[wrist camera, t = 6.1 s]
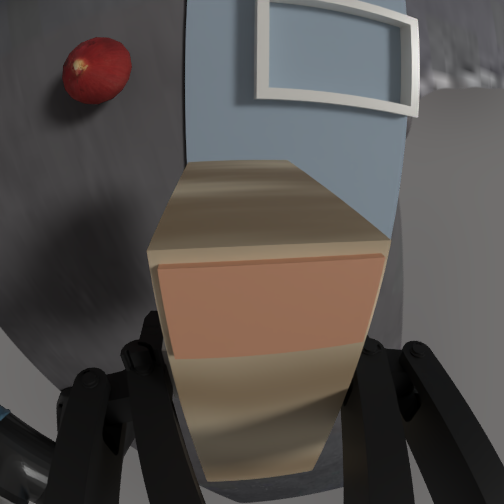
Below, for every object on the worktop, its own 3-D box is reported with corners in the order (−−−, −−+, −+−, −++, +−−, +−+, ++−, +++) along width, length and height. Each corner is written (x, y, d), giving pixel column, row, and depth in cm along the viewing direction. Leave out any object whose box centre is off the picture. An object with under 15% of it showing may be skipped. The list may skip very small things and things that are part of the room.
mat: (380, 278, 35) (381, 279, 34) (196, 289, 32) (196, 291, 32) (403, -3, 19) (404, -4, 19) (189, -33, 17) (189, -35, 17)
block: (276, 339, 20) (313, 473, 11) (203, 344, 20) (207, 485, 11) (287, 159, 15) (395, 243, 6) (188, 161, 14) (144, 255, 5)
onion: (73, 90, 21) (29, 89, 14) (103, 38, 19) (67, 18, 12) (120, 113, 23) (85, 117, 16) (152, 59, 21) (128, 41, 14)
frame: (407, 116, 26) (418, 117, 24) (253, 99, 24) (256, 98, 22) (407, 22, 21) (417, 19, 19) (254, -8, 19) (257, -16, 17)
